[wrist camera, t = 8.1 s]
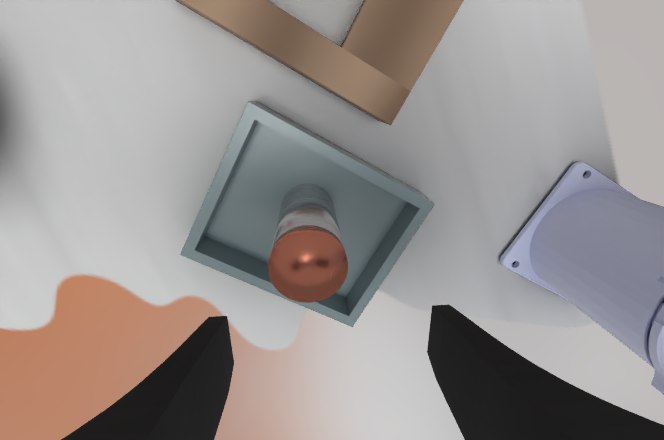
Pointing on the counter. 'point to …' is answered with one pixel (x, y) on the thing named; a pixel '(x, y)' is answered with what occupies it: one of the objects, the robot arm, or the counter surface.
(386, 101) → the block
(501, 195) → the counter surface
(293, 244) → the spice jar
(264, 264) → the tray
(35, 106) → the counter surface
